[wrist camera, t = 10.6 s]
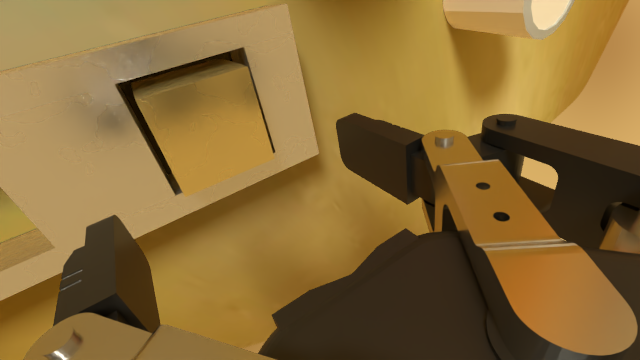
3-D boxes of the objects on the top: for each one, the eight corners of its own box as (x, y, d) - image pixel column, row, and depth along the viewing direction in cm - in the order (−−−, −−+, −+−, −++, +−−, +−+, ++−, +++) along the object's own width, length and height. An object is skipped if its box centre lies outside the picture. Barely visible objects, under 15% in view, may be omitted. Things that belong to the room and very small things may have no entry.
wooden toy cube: (170, 162, 19) (185, 197, 15) (130, 82, 17) (135, 100, 13) (245, 133, 21) (274, 158, 17) (219, 57, 18) (247, 66, 15)
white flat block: (-132, 327, 15) (-177, 382, 13) (-400, 169, 10) (-552, 213, 8) (298, 140, 23) (319, 153, 21) (265, 6, 18) (286, 3, 16)
